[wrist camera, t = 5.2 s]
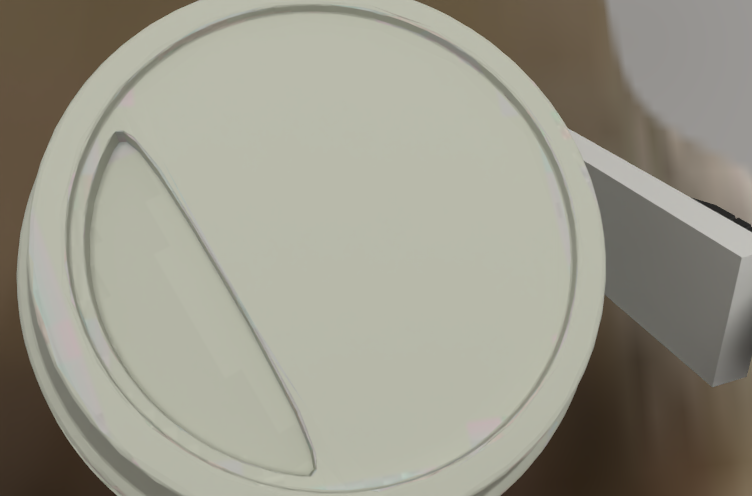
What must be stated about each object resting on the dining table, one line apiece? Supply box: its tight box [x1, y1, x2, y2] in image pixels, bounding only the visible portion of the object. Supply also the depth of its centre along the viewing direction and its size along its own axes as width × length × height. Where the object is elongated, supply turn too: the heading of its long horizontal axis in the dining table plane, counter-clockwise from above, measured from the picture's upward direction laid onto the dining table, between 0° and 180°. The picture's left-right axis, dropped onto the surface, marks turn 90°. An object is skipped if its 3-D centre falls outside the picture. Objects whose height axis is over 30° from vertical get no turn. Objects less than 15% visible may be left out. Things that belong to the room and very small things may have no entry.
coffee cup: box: [17, 0, 606, 496], centre depth 15 cm, size 9×8×12 cm
